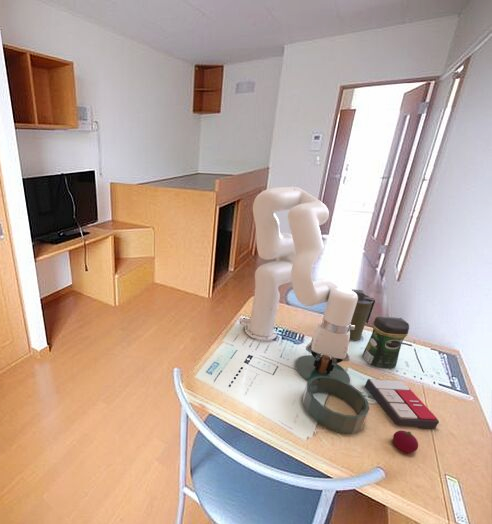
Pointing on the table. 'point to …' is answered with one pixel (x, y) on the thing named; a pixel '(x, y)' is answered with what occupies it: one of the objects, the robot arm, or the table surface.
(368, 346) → the coffee jar
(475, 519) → the table surface
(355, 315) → the canister
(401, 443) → the beet
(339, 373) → the lid
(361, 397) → the pot
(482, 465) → the table surface
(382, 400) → the calculator
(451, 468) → the table surface
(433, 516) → the table surface
